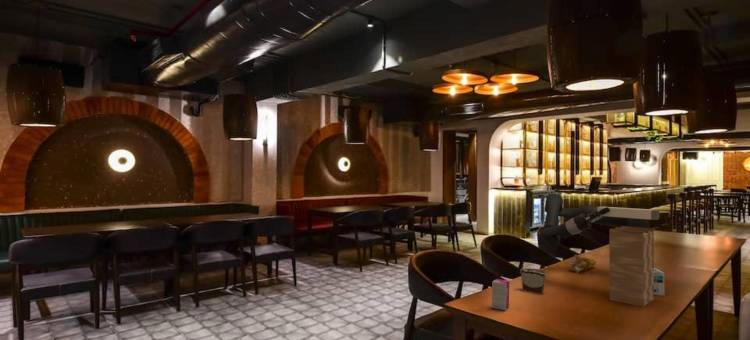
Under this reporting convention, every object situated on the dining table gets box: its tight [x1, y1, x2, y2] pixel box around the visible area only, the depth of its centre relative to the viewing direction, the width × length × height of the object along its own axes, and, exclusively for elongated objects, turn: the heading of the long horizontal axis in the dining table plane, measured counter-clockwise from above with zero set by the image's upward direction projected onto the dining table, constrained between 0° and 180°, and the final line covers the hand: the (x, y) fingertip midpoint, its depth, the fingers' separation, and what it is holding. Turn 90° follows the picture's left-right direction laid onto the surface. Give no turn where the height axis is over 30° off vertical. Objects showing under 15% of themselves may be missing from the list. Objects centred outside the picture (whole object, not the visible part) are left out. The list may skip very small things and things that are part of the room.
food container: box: [519, 268, 547, 295], centre depth 205 cm, size 12×6×10 cm, turn 47°
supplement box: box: [491, 278, 510, 312], centre depth 179 cm, size 6×6×12 cm
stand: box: [608, 226, 655, 307], centre depth 191 cm, size 15×13×31 cm
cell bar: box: [596, 206, 660, 221], centre depth 195 cm, size 4×24×4 cm, turn 42°
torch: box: [568, 254, 597, 274], centre depth 248 cm, size 8×8×25 cm
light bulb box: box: [654, 267, 666, 297], centre depth 202 cm, size 11×7×11 cm, turn 168°
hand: (610, 208), depth 200 cm, fingers closed on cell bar, 4 cm apart
